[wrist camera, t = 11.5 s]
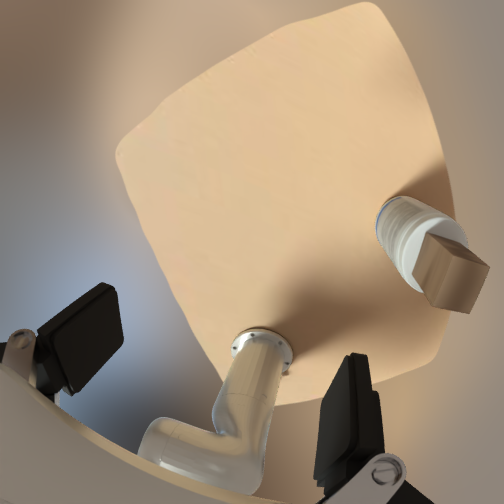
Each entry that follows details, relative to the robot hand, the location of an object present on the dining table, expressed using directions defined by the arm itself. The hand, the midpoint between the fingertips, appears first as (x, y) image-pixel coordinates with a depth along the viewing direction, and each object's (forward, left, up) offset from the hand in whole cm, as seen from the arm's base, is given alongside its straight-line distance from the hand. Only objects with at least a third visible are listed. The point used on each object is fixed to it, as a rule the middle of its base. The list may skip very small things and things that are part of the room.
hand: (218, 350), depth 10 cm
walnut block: (-8, -16, -20) cm, 27 cm away
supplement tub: (-8, -16, -35) cm, 39 cm away
